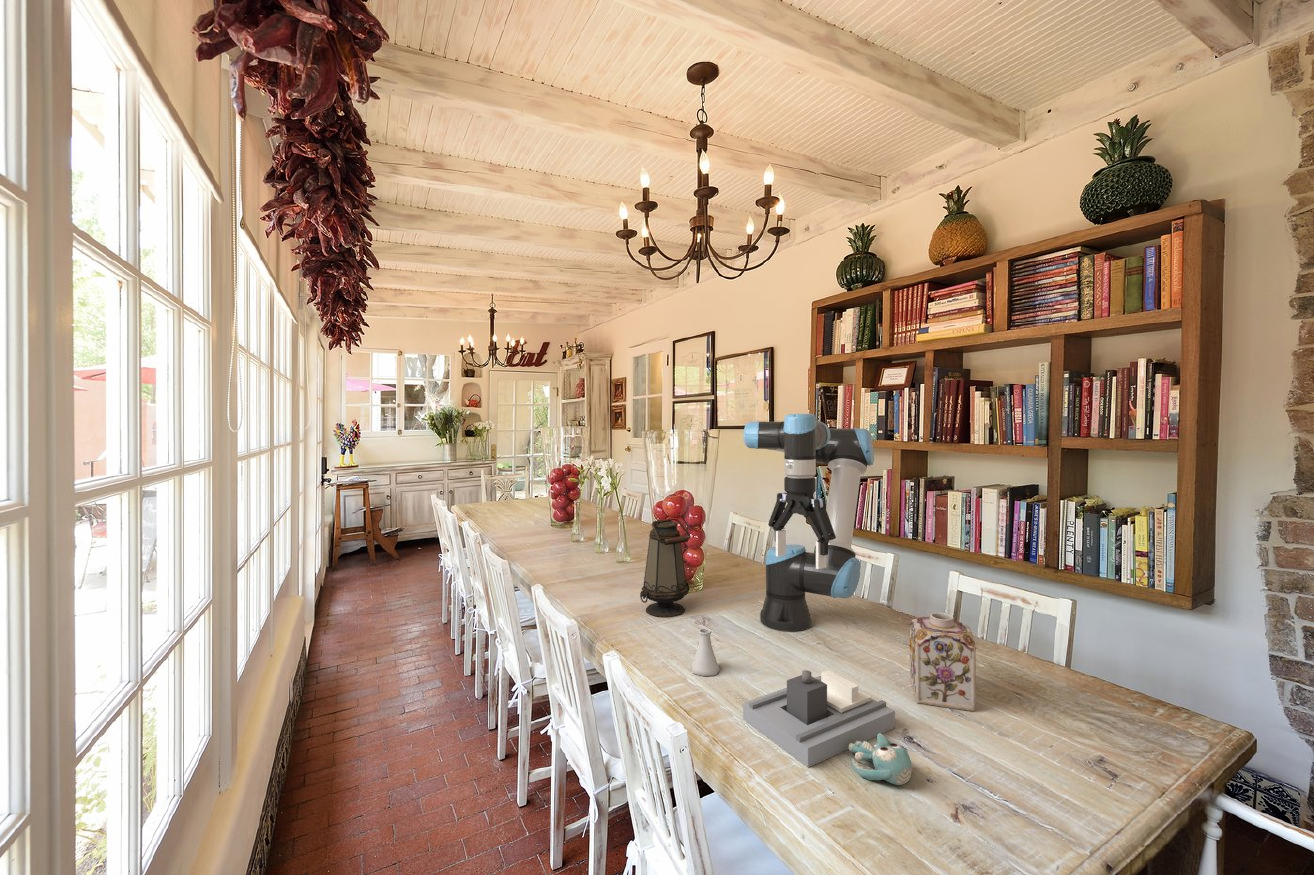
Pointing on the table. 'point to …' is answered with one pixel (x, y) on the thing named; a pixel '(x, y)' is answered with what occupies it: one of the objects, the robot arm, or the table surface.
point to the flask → (705, 656)
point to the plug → (807, 698)
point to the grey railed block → (816, 726)
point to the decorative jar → (943, 662)
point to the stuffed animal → (882, 761)
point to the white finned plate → (842, 692)
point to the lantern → (665, 570)
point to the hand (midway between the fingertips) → (800, 561)
